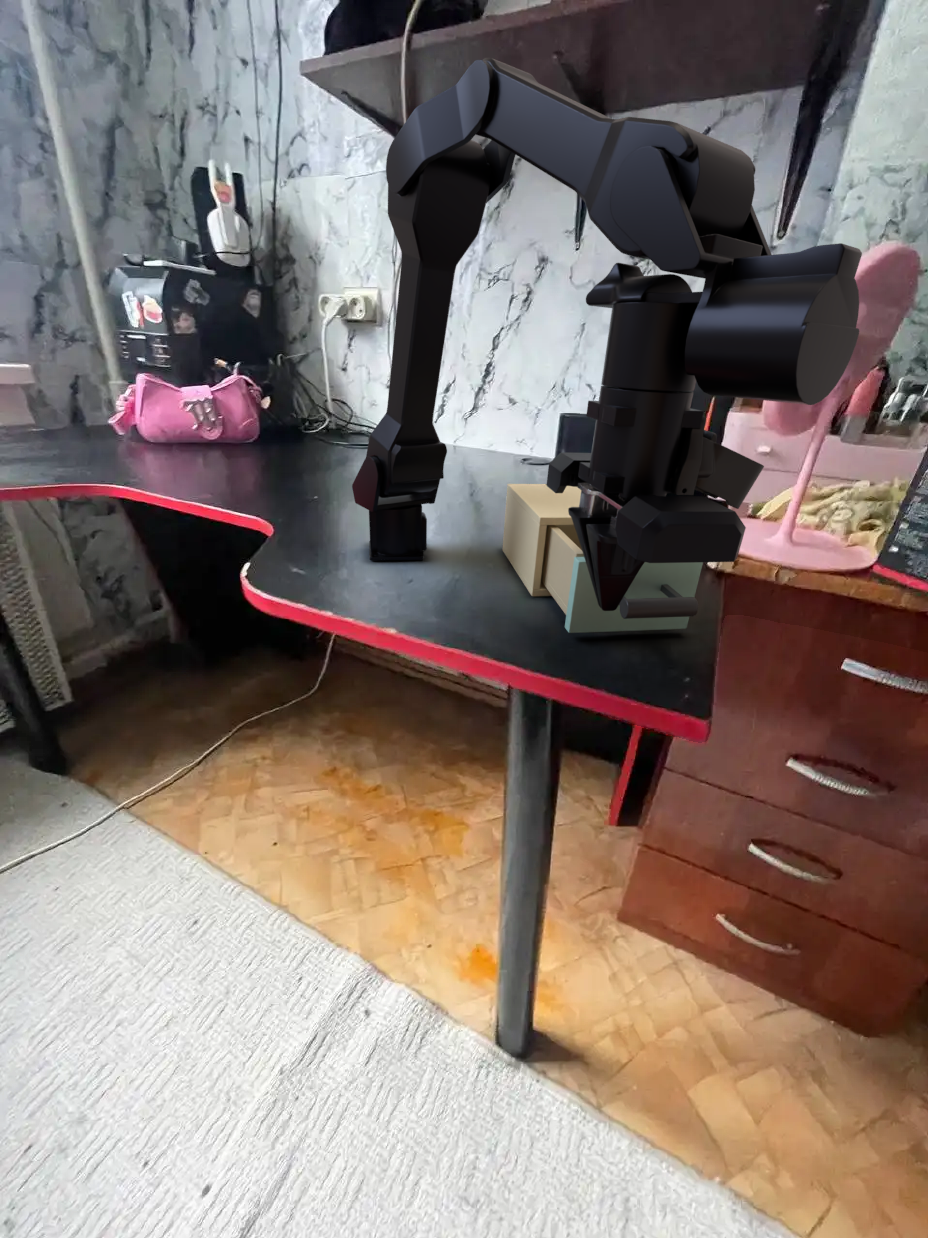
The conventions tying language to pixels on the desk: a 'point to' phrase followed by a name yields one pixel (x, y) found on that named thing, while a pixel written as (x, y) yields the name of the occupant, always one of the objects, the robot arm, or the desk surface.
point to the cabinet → (533, 527)
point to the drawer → (647, 604)
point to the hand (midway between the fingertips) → (607, 608)
